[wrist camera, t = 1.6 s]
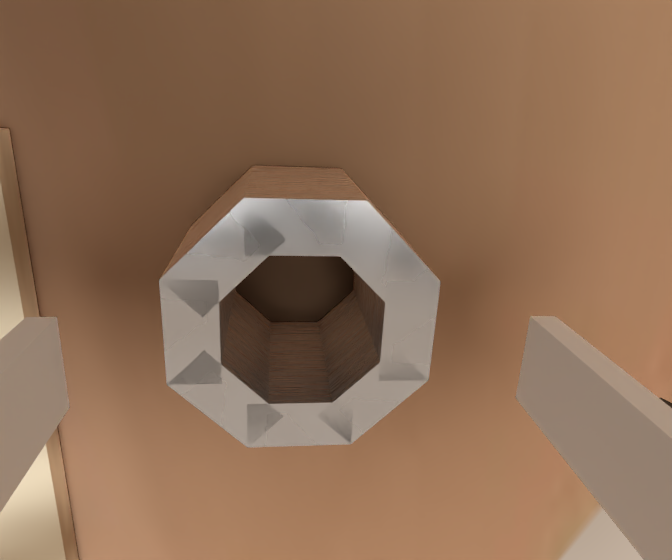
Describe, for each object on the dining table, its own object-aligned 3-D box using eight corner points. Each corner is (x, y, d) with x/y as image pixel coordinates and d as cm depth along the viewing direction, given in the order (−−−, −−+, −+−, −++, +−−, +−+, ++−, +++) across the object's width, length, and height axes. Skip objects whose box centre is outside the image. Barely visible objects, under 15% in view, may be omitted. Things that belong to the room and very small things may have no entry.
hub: (188, 163, 19) (152, 195, 14) (401, 170, 20) (450, 202, 15) (197, 357, 22) (171, 449, 16) (385, 355, 23) (421, 442, 17)
